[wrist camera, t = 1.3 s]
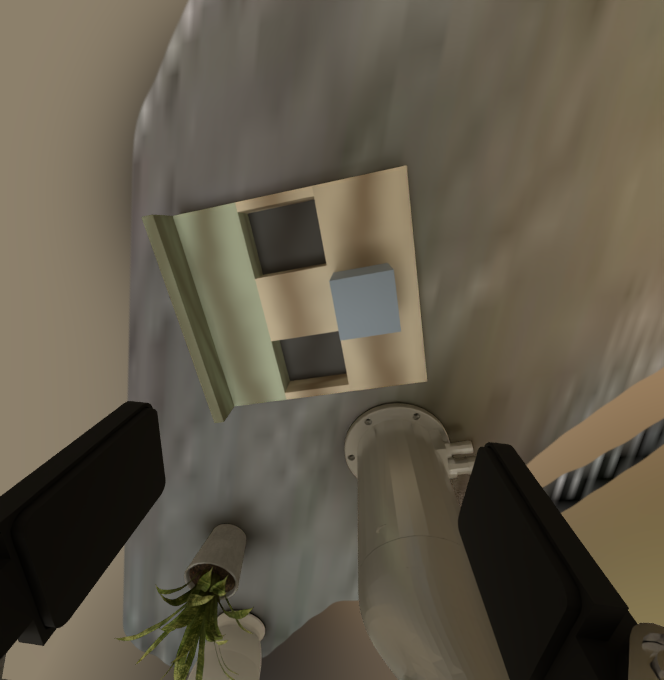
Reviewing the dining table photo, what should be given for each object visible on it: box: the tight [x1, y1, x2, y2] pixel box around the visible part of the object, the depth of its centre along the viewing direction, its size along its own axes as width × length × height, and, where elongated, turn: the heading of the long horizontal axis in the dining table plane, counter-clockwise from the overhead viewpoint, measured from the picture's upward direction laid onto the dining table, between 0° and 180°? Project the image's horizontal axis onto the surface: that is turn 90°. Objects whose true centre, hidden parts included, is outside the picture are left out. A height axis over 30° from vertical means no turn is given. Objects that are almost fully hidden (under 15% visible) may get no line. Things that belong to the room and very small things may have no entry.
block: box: [329, 263, 401, 341], centre depth 27 cm, size 5×5×5 cm
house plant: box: [117, 524, 253, 680], centre depth 39 cm, size 14×14×16 cm
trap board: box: [142, 165, 427, 423], centre depth 30 cm, size 22×20×6 cm
